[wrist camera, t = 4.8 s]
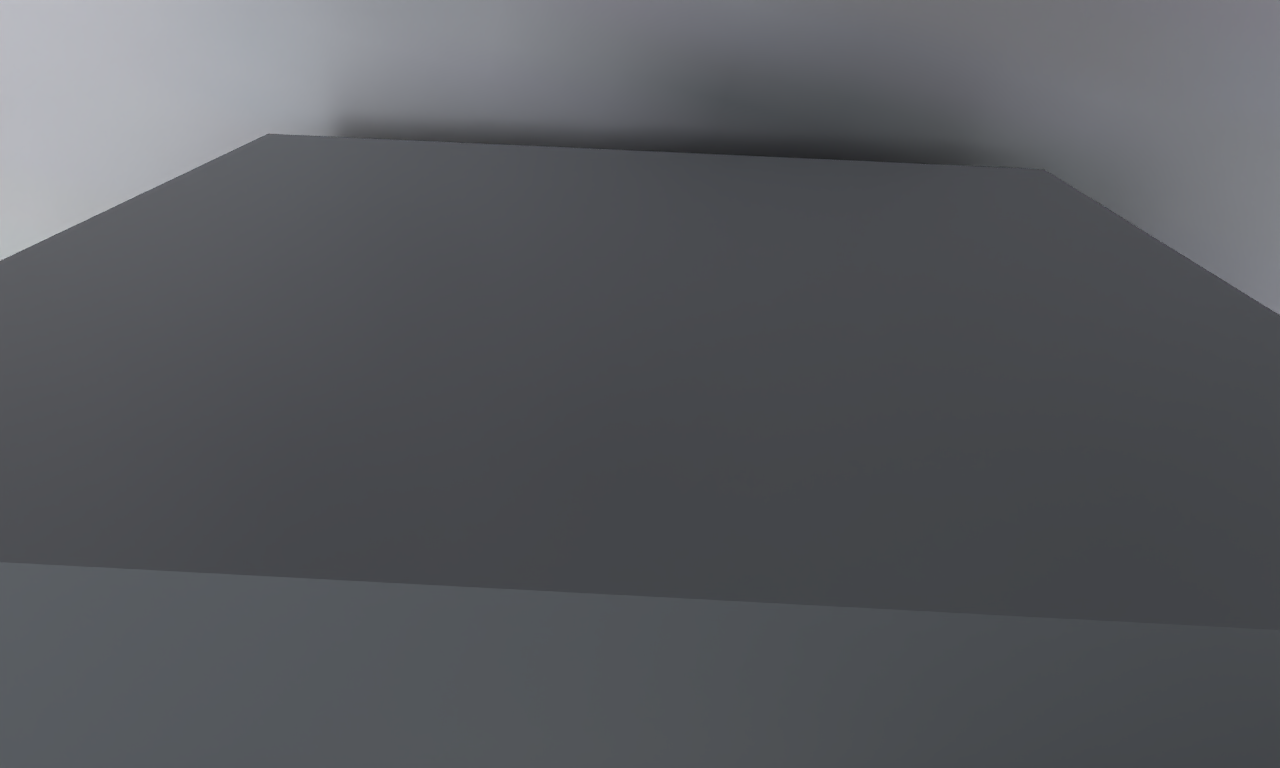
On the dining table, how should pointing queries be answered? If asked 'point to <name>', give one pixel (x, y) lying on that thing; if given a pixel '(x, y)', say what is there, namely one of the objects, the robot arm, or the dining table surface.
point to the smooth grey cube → (631, 471)
